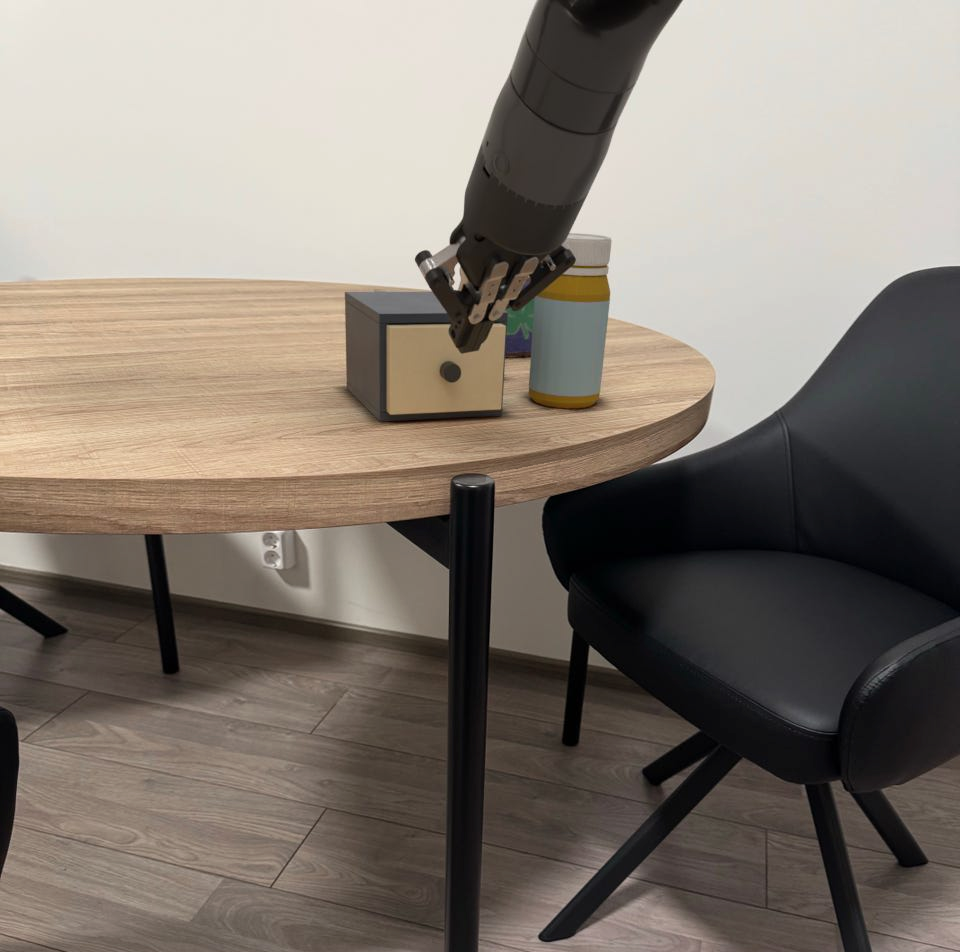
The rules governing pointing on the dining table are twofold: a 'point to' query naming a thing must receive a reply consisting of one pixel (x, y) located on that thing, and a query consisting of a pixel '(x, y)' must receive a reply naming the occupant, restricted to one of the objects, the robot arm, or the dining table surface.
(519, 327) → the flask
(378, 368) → the cabinet
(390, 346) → the drawer
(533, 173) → the robot arm
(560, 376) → the bottle
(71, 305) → the dining table surface
